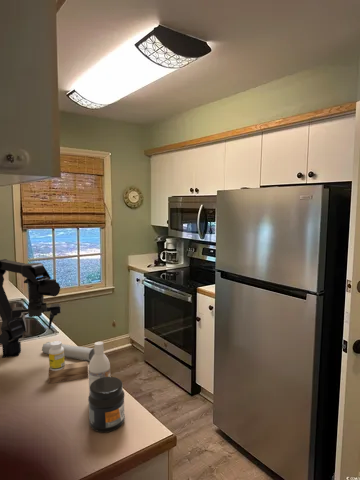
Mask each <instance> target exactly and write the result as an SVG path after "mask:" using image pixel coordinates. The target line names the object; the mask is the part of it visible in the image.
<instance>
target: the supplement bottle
mask: <svg viewBox="0 0 360 480" xmlns="http://www.w3.org/2000/svg"><path fill="white" fill-rule="evenodd" d="M62 344H63V343H62V341H61V340H54V341H51V344H50V347H51V348H50V350H49V354H48V362H49V365H48V366H49V367H50V370H52V371H58V370H61V369H63V368H64V366H65V364H66V362H65V361H66V360H65V357H64V348H63V347H62Z"/></svg>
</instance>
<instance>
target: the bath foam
mask: <svg viewBox="0 0 360 480" xmlns="http://www.w3.org/2000/svg"><path fill="white" fill-rule="evenodd" d="M93 345H94V347H93V348H94V352H95V354H94V356H93V357H92V359H91V361H90V362H89V363H88V393H89V395H90V385H91V384H92V383H93V382H94V381H95V380H97V379H99V378H103V377H111V363H110V360H109V358H108V357H107V355H106V354H105V351H104V350H105V349H104V341H96V342H94V344H93ZM89 395H88V396H89Z"/></svg>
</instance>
